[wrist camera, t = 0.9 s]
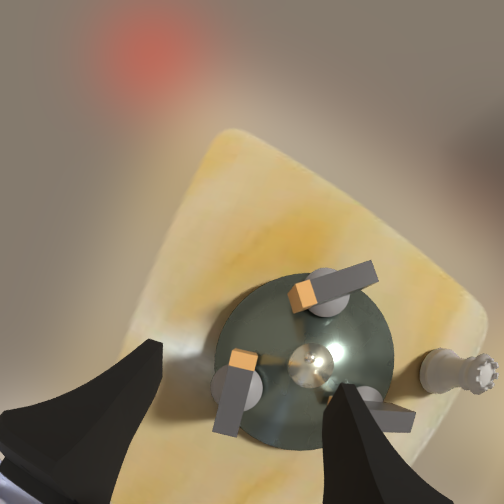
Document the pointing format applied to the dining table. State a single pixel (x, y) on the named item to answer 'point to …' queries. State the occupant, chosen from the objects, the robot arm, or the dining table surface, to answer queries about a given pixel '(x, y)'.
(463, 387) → the rook chess piece
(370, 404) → the grey block
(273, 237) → the dining table surface
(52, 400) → the robot arm
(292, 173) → the dining table surface
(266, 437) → the base plate
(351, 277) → the knob
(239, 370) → the knob
